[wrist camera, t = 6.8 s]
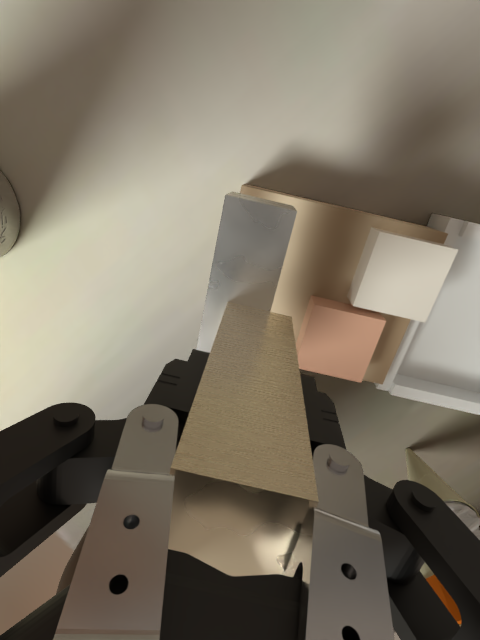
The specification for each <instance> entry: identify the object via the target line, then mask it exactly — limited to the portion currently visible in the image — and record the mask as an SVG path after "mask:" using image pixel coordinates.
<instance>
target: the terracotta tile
mask: <svg viewBox="0 0 480 640" xmlns="http://www.w3.org/2000/svg"><path fill="white" fill-rule="evenodd" d="M385 323H386V320H385V319H384V317H383V316H382V315H381V314H380V312H377V311H373V310H368V309H364V308H359V307H355V306H353V305H351V304H347V303H343V302H338V301H334V300H330V299H325V298H321V297H317V296H312V295H311V297H310V300H309V303H308V307H307V310H306V313H305V316H304V320H303V323H302V326H301V329H300V332H299V336H298V339H297V342H296V349H297V356H298V363H299V369H303V370H307V371H311V372H316V373H320V374H325V375H329V376H333V377H338V378H342V379H347V380H351V381H355V382H360V383H361V382H362V380H363V377H364V375H365V372H366V370H367V367H368V365H369V362H370V360H371V358H372V355H373V353H374V350H375V348H376V345H377V343H378V340H379V338H380V336H381V333H382V331H383V328H384V326H385Z"/></svg>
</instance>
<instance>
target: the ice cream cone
mask: <svg viewBox="0 0 480 640" xmlns="http://www.w3.org/2000/svg"><path fill="white" fill-rule="evenodd" d="M405 452H406V462H407V472H408V480H410V481H414V482H417V483H420V484H422V485H424V486H426V487H427V488H429V489H430V490H432V491H433V492H434V493H436V494H437V495H438V496H439V497H440V498H441V499H442V500H443V501H444V502H445V503H446V505H447V506H448V507H449V508H450V509H451V510H452V511H453V512H454V513H455V514H456V515H457V516H458V517H459V518H460V520H461V521H462V522H463V523H464V524H465V525H466V526H467V527H468V528H469V529H470V530H471V531H472V532H473V534H474V535H475V536H476V537H477V538H478V539H479V540H480V530H479V525H480V516H479V514H478V512H477V510H476V509H475V508H474V507H473V506H471V505H470V504H468V503H466V502H465V501H464V500H463V499H462V498H461V497H460V496H459V495H458V494H457V493H456V492H455V491H454V490H453V489H452V488H451V487H450V486H449V485H448V484H446V483H445V482H444V481H443V480H442V479H441V478H440V477H439V476H438V475H437V474H436V473H435V472H434V471H433V470H432V469H431V468H430V467H429V466H428V465H427V464H426V463H425V462H424V461H422V460H421V459H420V458H419V457H418V456H417V455H416V454H415V453H414V452H413V451H412V450H411V449H410V448H407V449H406V450H405Z"/></svg>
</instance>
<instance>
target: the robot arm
mask: <svg viewBox="0 0 480 640" xmlns="http://www.w3.org/2000/svg"><path fill="white" fill-rule="evenodd" d="M19 229H20V212H19V206H18V202H17V199H16V196H15V193H14V191H13V189H12V187H11V186H10V184H9V182H8V180H7V179H6V178H5V176H4V175H3V173H2V172H1V171H0V257H1V256H3V255H4V254H6V253H7V252H8V251H9V250H10V249H11V248H12V246H13V245H14V243H15V241H16V239H17V236H18V233H19ZM209 354H210V353H209V352H204V351H200V350H196V349H193V350H192V353H191V355H190V357H189V359H188V362H187V361H183V360H179V359H175V360H173V361H171V362H170V363H168V364H166V365H165V367H164V369H163V371H162V373H161V375H160V376H159V378H158V380H157V382H156V383H155V385H154V387H153V389H152V391H151V392H150V394H149V396H148V398H147V400H146V401H145V403H144V405H141V406H138V407H136V408H135V409H133V410H132V411H131V412H130V413H129V414H128V416H127V418H125V419H120V420H95V414H94V412H93V411H92V410H91V409H90V408H89V407H87V406H85V405H82V404H78V403H61V404H56V405H53V406H51V407H48V408H46V409H44V410H42V411H40V412H38V413H36V414H34V415H32V416H30V417H28V418H26V419H24V420H22V421H20V422H18V423H16V424H14V425H12V426H10V427H8V428H6V429H4V430H2V431H0V577H1V576H2V575H4V574H5V573H6V572H7V571H8V570H9V569H11V568H12V567H13V566H14V565H16V563H18V562H19V561H20V560H21V559H23V558H24V557H25V556H26V555H28V554H29V553H30V552H31V551H32V550H33V549H35V548H36V547H37V546H38V545H40V544H41V543H42V542H43V541H44V540H46V539H47V538H48V537H49V536H50V535H52V534H53V533H54V532H55V531H57V530H58V529H59V528H60V527H61V526H63V525H64V524H65V523H66V522H67V521H69V520H70V519H71V518H72V517H73V516H75V515H76V514H77V513H78V512H79V511H81V510H82V509H83V508H84V507H85V505H86V504H87V503H96V506H95V509H94V512H93V516H92V519H91V522H90V525H89V528H88V531H87V534H86V538H85V541H84V544H83V547H82V550H81V553H80V557H79V560H78V563H77V566H76V569H75V572H74V576H73V579H72V582H71V584H70V585H69V586H67V587H66V588H65V589H63V590H62V591H61V592H59V593H58V594H56V595H55V596H54V597H52V598H51V599H50V600H48V601H47V602H46V603H44V604H43V605H42V606H40V607H39V608H37V609H36V610H35V611H33V612H32V613H30V614H29V615H28V616H26V617H25V618H24V619H22V620H21V621H20V622H18V623H17V624H15V625H14V626H13V627H11V628H10V629H9V630H7V631H6V632H5V633H3V634H2V635H0V640H394V632H393V627H394V629H395V631H396V633H397V634H398V636H399V638H400V639H401V640H480V540H479V539H478V538H477V537H476V536H475V535H474V534H473V532H472V531H471V530H470V529H469V528H468V527H467V526H466V525H465V524H464V523H463V522H462V521H461V520H460V518H459V517H458V516H457V515H456V514H455V513H454V512H453V511H452V510H451V509H450V508H449V507H448V506H447V505H446V503H445V502H444V501H443V500H442V499H441V498H440V497H439V496H438V495H437V494H436V493H434V492H433V491H432V490H430V489H429V488H427V487H426V486H424V485H422V484H420V483H417V482H414V481H410V480H402V481H399V482H397V483H396V484H395V486H394V488H393V489H390V488H388V487H386V486H384V485H382V484H380V483H378V482H376V481H374V480H372V479H370V478H368V477H367V476H365V475H364V473H363V468H362V465H361V463H360V462H359V460H358V459H357V458H356V457H355V456H354V455H353V454H352V453H350V452H349V451H347V450H346V446H345V443H344V439H343V435H342V432H341V428H340V425H339V424H338V422H339V421H338V417H337V415H336V410H335V406H334V403H333V402H332V401H331V400H330V398H329V397H328V396H327V395H326V394H325V393H321V392H317V388H316V384H315V379H314V377H312V376H308V375H303V374H300V377H301V384H302V390H303V397H304V404H305V411H306V418H307V425H308V432H309V438H310V445H311V452H312V459H313V466H314V473H315V479H316V486H317V493H318V500H319V503H318V505H317V507H314V506H312V507H309V508H308V511H307V513H306V516H305V518H304V521H303V523H302V527H301V531H300V535H299V538H298V541H297V544H296V546H295V549H294V551H293V553H292V556H291V558H290V561H289V563H288V566H287V568H286V569H284V570H283V572H282V575H281V574H269V575H251V576H230V575H227V574H225V573H223V572H221V571H220V570H218V569H216V568H214V567H212V566H210V565H208V564H206V563H204V562H202V561H201V560H199V559H197V558H195V557H193V556H191V555H189V554H187V553H184V552H179V551H175V550H170V549H168V544H169V533H170V522H171V512H172V501H173V491H174V480H175V475H173V474H169V473H170V468H171V465H172V462H173V459H174V456H175V453H176V450H177V448H178V445H179V442H180V439H181V436H182V433H183V430H184V427H185V424H186V421H187V418H188V416H189V413H190V410H191V407H192V404H193V401H194V398H195V395H196V392H197V389H198V386H199V384H200V381H201V378H202V375H203V372H204V369H205V366H206V363H207V360H208V357H209ZM424 563H426V564H427V565H428V567H429V568H430V569H431V571H432V572H433V573H434V575H435V576H436V577H437V579H438V580H439V581H440V583H441V584H442V585H443V587H444V588H445V589H446V591H447V592H448V593H449V595H450V596H451V597H452V599H453V600H454V601H455V603H456V605H457V607H458V609H459V612H460V615H461V627H460V626H459V624H458V623H457V621H456V620H455V619H454V617H453V616H452V615H451V613H450V612H449V610H448V609H447V608H446V606H445V605H444V604H443V602H442V601H441V599H440V598H439V597H438V595H437V594H436V593H435V591H434V590H433V588H432V587H431V586H430V584H429V583H428V582H427V580H426V579H425V577H424V576H423V575H422V573H421V572H420V569H421V567H422V566H423V564H424Z"/></svg>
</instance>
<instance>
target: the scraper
mask: <svg viewBox="0 0 480 640" xmlns="http://www.w3.org/2000/svg"><path fill="white" fill-rule="evenodd" d="M296 214H297V210H296V209H295V208H294V206H292V205H288V204H284V203H280V202H275V201H271V200H267V199H262V198H258V197H254V196H250V195H245V194H241V193H237V192H231V193H228V194H226V195H225V200H224V205H223V211H222V216H221V221H220V226H219V232H218V237H217V242H216V248H215V253H214V258H213V263H212V269H211V274H210V279H209V285H208V290H207V295H206V300H205V306H204V311H203V316H202V322H201V327H200V332H199V337H198V343H197V348H196V350H200V351H204V352H209V353H210V354H209V357H208V360H207V363H206V366H205V369H204V372H203V375H202V378H201V381H200V384H199V386H198V389H197V392H196V395H195V398H194V401H193V404H192V407H191V410H190V413H189V416H188V418H187V421H186V424H185V427H184V430H183V433H182V436H181V439H180V442H179V445H178V448H177V450H176V453H175V456H174V459H173V462H172V465H171V468H170V473H169V474H173V475H175V480H174V491H173V501H172V512H171V522H170V533H169V544H168V549H170V550H175V551H179V552H184V553H187V554H189V555H191V556H193V557H195V558H197V559H199V560H201V561H202V562H204V563H206V564H208V565H210V566H212V567H214V568H216V569H218V570H220V571H221V572H223V573H225V574H227V575H230V576H251V575H269V574H281V575H282V572H283V570H284V569H286V568H287V566H288V563H289V561H290V558H291V556H292V553H293V551H294V549H295V546H296V544H297V541H298V538H299V535H300V531H301V527H302V523H303V521H304V518H305V516H306V513H307V511H308V508H309V507H312V506H314V507H317V505H318V503H319V500H318V493H317V486H316V479H315V473H314V466H313V459H312V452H311V445H310V438H309V432H308V425H307V418H306V411H305V404H304V397H303V390H302V384H301V377H300V370H299V363H298V356H297V349H296V343H295V336H294V329H293V322H292V317H291V316H286V315H282V314H278V313H274V312H270V311H271V308H272V304H273V300H274V296H275V293H276V289H277V285H278V281H279V278H280V274H281V270H282V267H283V263H284V259H285V255H286V252H287V248H288V244H289V240H290V237H291V233H292V229H293V226H294V222H295V218H296Z"/></svg>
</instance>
